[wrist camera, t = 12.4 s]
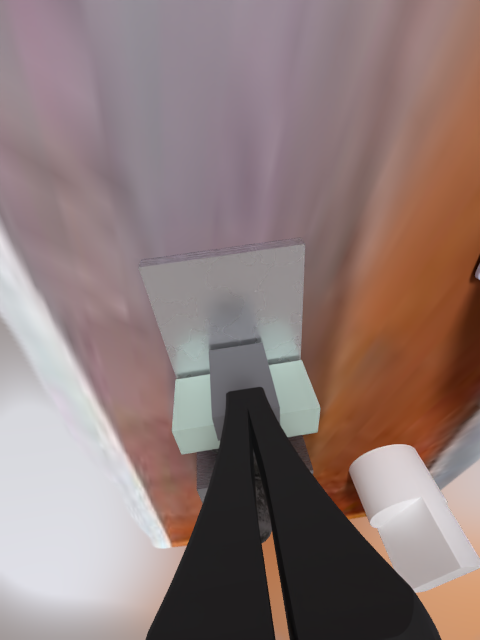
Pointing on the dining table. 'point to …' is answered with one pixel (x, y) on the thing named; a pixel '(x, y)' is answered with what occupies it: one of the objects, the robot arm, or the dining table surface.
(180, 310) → the plate
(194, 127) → the dining table surface
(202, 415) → the vise jaw
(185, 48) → the dining table surface
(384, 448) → the cylinder with rectangular tab
